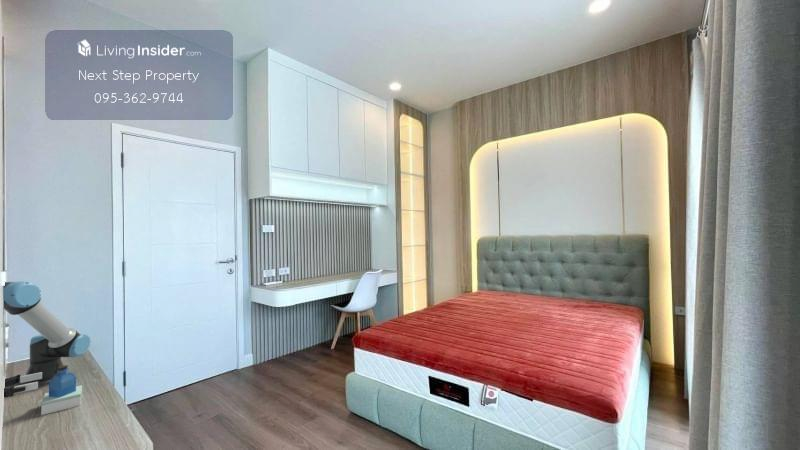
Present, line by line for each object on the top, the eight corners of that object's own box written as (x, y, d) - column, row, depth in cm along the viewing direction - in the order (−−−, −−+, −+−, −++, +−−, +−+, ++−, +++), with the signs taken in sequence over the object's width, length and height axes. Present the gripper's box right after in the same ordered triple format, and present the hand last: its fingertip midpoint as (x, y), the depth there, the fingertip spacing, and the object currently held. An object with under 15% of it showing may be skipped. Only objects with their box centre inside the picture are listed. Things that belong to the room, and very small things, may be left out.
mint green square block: (45, 404, 150) (45, 393, 151) (81, 395, 158) (82, 385, 159) (41, 415, 141) (41, 403, 142) (80, 405, 149) (80, 393, 150)
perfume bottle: (59, 397, 146) (60, 369, 147) (48, 396, 148) (49, 368, 148) (75, 391, 152) (76, 364, 153) (65, 390, 154) (65, 363, 154)
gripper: (-31, 395, 141) (43, 380, 155) (-51, 418, 122) (35, 399, 136) (-30, 377, 141) (43, 363, 155) (-50, 397, 122) (35, 380, 136)
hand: (40, 380), depth 146 cm, fingers open, 13 cm apart
